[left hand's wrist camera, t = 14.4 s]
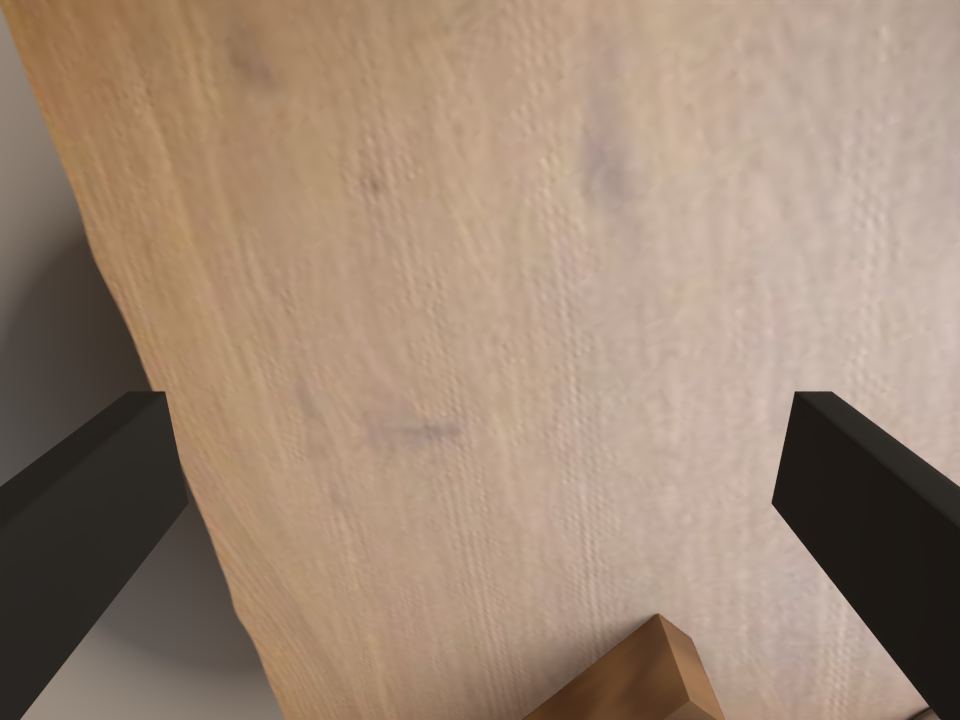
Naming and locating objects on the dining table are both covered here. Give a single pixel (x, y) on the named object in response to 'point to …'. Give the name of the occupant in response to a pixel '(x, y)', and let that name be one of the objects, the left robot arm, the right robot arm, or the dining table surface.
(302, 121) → the dining table surface
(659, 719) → the bar
